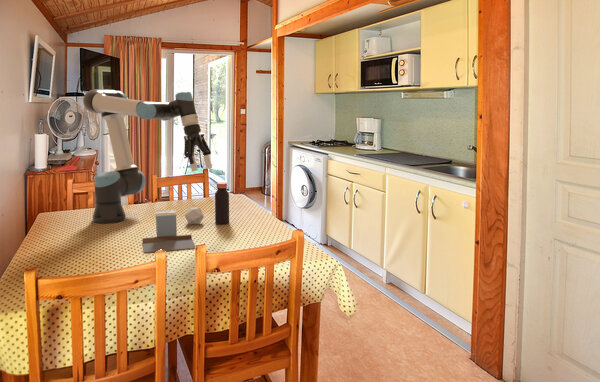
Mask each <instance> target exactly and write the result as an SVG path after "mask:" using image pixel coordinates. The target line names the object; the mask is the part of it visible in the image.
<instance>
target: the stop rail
mask: <svg viewBox="0 0 600 382" xmlns="http://www.w3.org/2000/svg"><path fill="white" fill-rule="evenodd" d="M192 237H193V236H192V234H191V233H190V234H180V235H176V236H162V237H157V236H152V237H151V236H150V237H142V243H143V242H154V241H167V240H180V239H192ZM192 240H193V239H192Z"/></svg>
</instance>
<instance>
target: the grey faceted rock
mask: <svg viewBox="0 0 600 382" xmlns="http://www.w3.org/2000/svg"><path fill="white" fill-rule="evenodd" d="M184 216H185V219H186V221H187V224H188V225H200V223H201V222H202V221H203V219H204V217H205V216H204V213H203V211H202V209H201V207H189V208H188V210H187V211H186V213H185V214H184Z"/></svg>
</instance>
